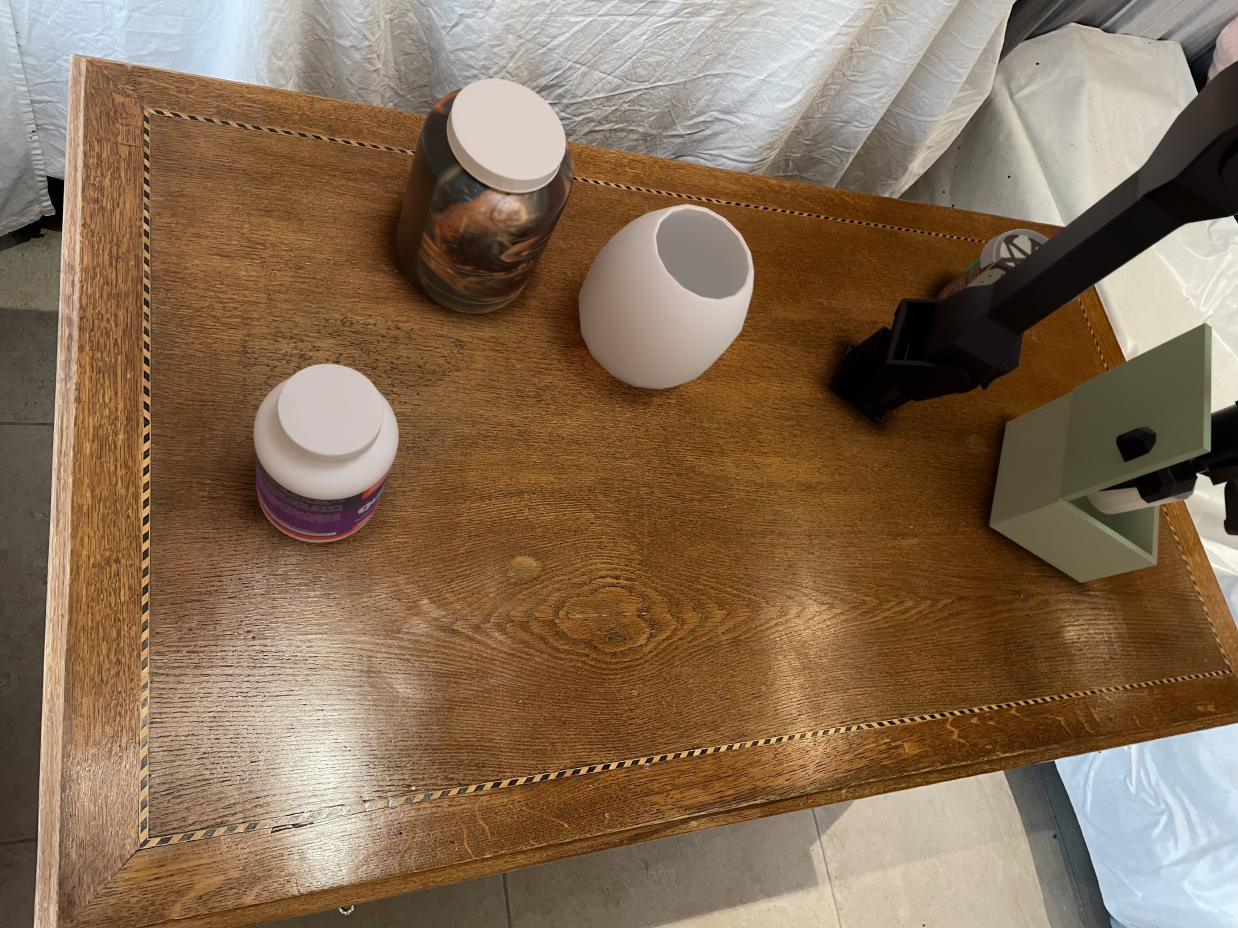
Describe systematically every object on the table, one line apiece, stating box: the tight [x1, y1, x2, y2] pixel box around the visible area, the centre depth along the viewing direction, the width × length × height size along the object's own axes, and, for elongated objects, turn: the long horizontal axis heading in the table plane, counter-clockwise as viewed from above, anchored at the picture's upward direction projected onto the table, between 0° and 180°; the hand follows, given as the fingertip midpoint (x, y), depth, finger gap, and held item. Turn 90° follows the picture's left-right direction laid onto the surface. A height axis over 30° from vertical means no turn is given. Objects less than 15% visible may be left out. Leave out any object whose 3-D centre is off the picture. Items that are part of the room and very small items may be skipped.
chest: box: [988, 391, 1161, 584], centre depth 80 cm, size 12×13×8 cm
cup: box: [578, 203, 755, 390], centre depth 65 cm, size 13×13×14 cm
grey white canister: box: [1086, 461, 1197, 514], centre depth 75 cm, size 7×7×7 cm
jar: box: [396, 77, 575, 315], centre depth 60 cm, size 12×12×15 cm
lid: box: [1060, 322, 1213, 502], centre depth 69 cm, size 13×13×1 cm
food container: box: [936, 228, 1081, 304], centre depth 86 cm, size 12×6×10 cm, turn 84°
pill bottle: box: [253, 363, 400, 543], centre depth 49 cm, size 8×8×14 cm
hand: (1114, 481), depth 77 cm, fingers closed on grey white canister, 6 cm apart
